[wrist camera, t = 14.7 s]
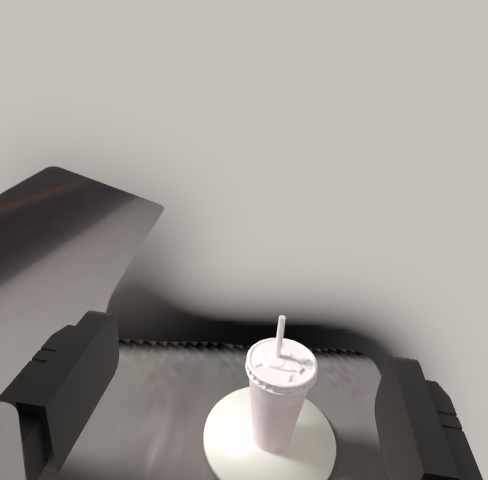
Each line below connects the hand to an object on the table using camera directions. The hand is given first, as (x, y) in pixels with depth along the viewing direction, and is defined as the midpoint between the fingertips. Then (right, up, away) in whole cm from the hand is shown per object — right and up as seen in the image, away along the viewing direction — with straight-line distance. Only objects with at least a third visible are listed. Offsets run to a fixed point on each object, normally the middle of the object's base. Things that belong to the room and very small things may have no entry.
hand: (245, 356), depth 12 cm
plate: (+2, -17, +29) cm, 34 cm away
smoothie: (+3, -16, +29) cm, 33 cm away
